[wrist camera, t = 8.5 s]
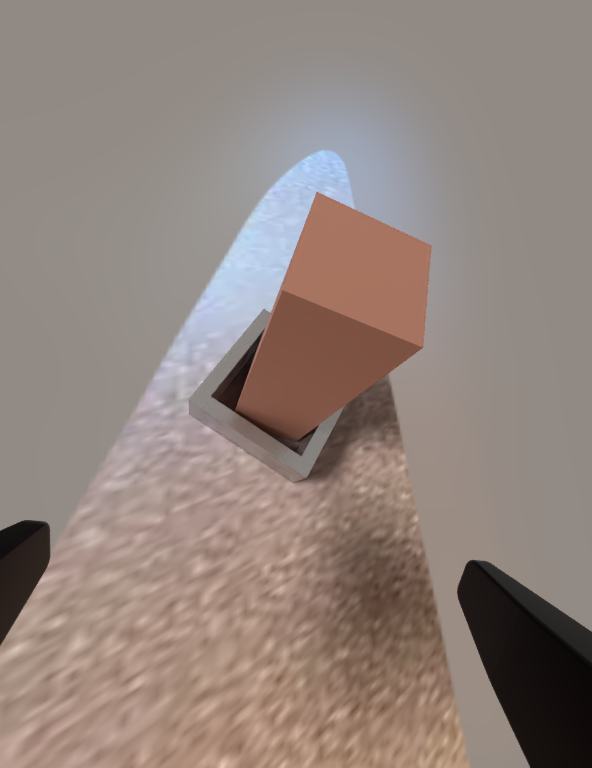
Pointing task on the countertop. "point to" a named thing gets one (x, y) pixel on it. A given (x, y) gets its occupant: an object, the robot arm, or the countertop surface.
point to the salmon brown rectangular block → (336, 319)
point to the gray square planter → (242, 430)
